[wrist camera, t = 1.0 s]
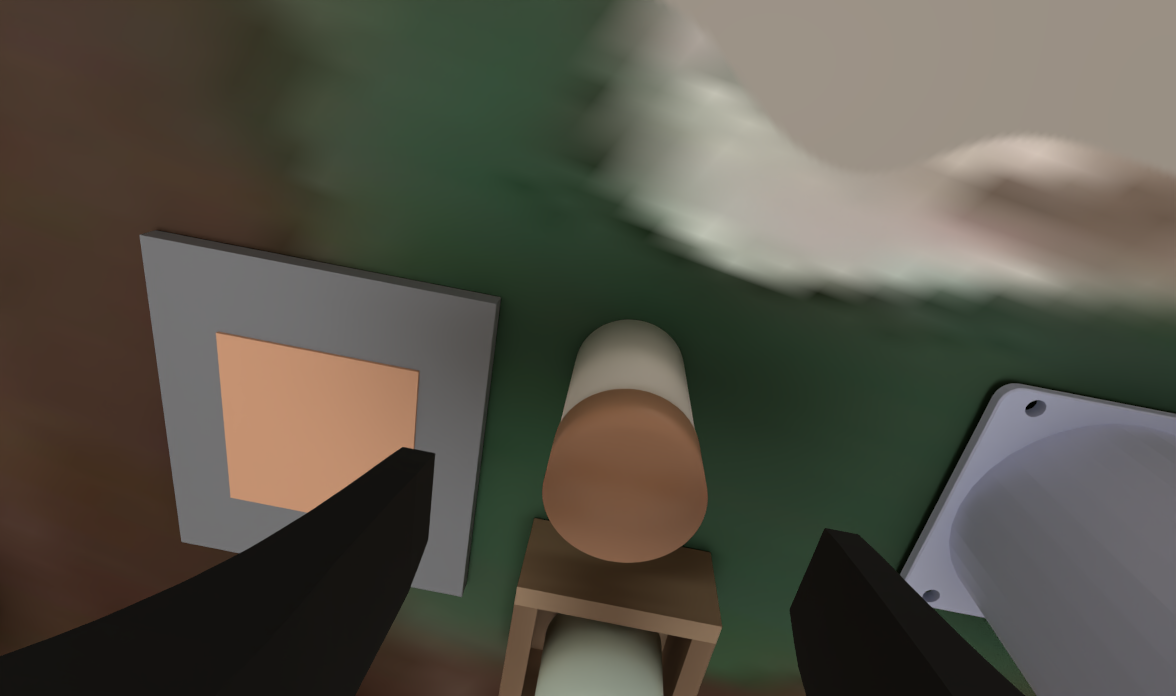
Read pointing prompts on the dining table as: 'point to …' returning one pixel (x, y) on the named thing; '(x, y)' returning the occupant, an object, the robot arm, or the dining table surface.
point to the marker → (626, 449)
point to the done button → (599, 659)
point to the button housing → (614, 607)
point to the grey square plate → (314, 390)
